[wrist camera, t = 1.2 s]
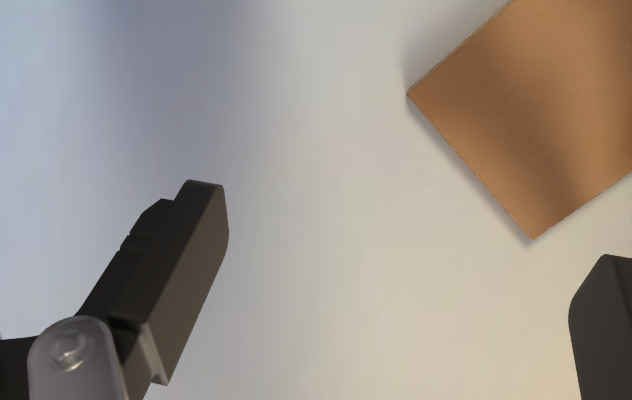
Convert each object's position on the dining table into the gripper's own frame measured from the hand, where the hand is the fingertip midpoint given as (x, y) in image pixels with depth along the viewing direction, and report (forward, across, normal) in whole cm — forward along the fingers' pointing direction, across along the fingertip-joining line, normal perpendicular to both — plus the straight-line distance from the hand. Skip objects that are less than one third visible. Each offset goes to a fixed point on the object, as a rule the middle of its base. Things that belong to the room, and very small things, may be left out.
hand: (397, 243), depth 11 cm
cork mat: (+20, -11, +4) cm, 24 cm away
